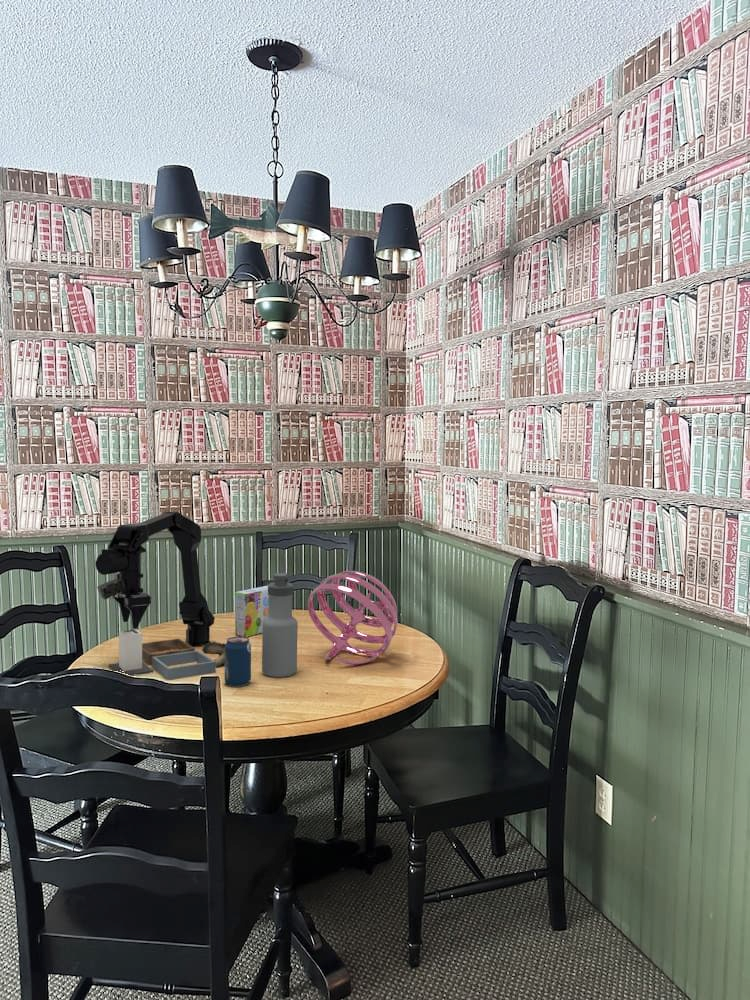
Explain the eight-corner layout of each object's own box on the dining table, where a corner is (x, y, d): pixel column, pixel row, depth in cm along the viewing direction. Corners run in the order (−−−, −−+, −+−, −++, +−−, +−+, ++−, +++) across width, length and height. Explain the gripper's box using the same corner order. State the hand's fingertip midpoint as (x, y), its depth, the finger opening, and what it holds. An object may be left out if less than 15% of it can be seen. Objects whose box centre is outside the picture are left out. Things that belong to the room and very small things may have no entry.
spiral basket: (335, 611, 196) (381, 546, 214) (270, 619, 215) (317, 559, 233) (388, 684, 205) (428, 616, 223) (321, 685, 224) (363, 623, 242)
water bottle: (263, 667, 210) (264, 570, 209) (297, 667, 211) (299, 571, 209) (260, 678, 200) (261, 576, 198) (296, 678, 201) (297, 577, 199)
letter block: (136, 663, 209) (136, 628, 209) (142, 668, 205) (142, 632, 205) (118, 666, 206) (118, 630, 206) (124, 671, 202) (124, 634, 202)
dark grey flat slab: (140, 661, 213) (140, 660, 213) (153, 672, 203) (153, 670, 203) (108, 666, 208) (108, 664, 208) (120, 677, 198) (120, 675, 198)
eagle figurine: (219, 653, 220) (196, 654, 212) (231, 635, 218) (208, 635, 211) (232, 671, 216) (209, 672, 208) (244, 653, 214) (222, 654, 207)
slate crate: (197, 660, 216) (197, 650, 216) (215, 672, 205) (215, 661, 204) (151, 667, 208) (151, 656, 208) (167, 680, 197) (167, 669, 197)
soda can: (255, 681, 197) (256, 637, 196) (241, 689, 191) (241, 643, 190) (234, 678, 200) (234, 634, 199) (219, 685, 193) (219, 640, 193)
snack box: (277, 624, 263) (278, 582, 262) (289, 626, 260) (289, 584, 259) (234, 635, 246) (234, 591, 245) (245, 638, 243) (246, 593, 242)
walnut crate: (179, 647, 229) (179, 638, 229) (194, 658, 218) (194, 648, 218) (135, 653, 221) (135, 644, 221) (149, 665, 210) (149, 654, 210)
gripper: (91, 567, 207) (91, 621, 208) (109, 577, 192) (109, 635, 193) (131, 564, 213) (131, 617, 214) (151, 573, 198) (151, 630, 199)
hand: (130, 625), depth 205 cm, fingers open, 9 cm apart
